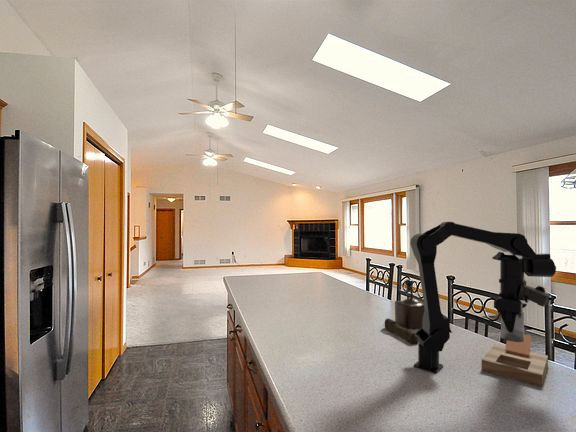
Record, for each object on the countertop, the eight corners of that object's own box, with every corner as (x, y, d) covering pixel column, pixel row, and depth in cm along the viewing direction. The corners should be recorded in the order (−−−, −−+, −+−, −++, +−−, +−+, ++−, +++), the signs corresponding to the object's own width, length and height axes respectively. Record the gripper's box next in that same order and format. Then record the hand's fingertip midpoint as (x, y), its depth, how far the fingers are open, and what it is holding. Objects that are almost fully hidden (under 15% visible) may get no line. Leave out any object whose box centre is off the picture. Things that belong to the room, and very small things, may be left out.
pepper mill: (431, 328, 134) (431, 284, 135) (407, 329, 132) (407, 285, 133) (410, 317, 150) (410, 278, 150) (388, 318, 147) (388, 278, 148)
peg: (522, 343, 91) (522, 314, 91) (499, 338, 94) (499, 311, 95) (525, 338, 95) (525, 311, 95) (502, 334, 99) (502, 307, 99)
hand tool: (420, 344, 116) (420, 331, 116) (410, 345, 115) (410, 331, 115) (391, 328, 134) (391, 316, 135) (382, 328, 133) (382, 317, 134)
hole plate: (542, 386, 86) (542, 375, 86) (481, 370, 95) (481, 359, 95) (548, 365, 99) (547, 355, 99) (494, 353, 108) (494, 344, 108)
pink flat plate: (529, 356, 98) (529, 354, 97) (505, 351, 102) (505, 349, 101) (531, 337, 102) (531, 335, 101) (508, 333, 106) (508, 331, 105)
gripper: (544, 283, 83) (544, 345, 82) (549, 275, 97) (549, 328, 96) (493, 278, 90) (493, 334, 90) (504, 271, 104) (505, 321, 104)
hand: (512, 329), depth 95 cm, fingers closed on peg, 5 cm apart
